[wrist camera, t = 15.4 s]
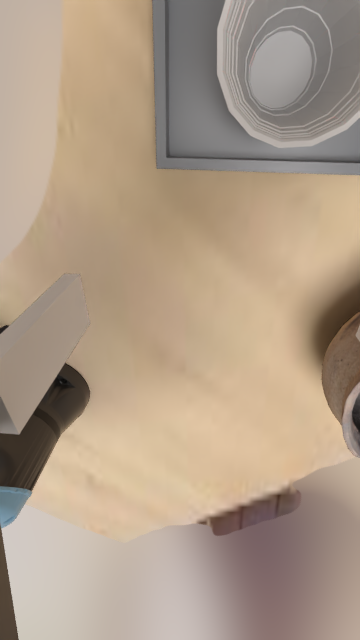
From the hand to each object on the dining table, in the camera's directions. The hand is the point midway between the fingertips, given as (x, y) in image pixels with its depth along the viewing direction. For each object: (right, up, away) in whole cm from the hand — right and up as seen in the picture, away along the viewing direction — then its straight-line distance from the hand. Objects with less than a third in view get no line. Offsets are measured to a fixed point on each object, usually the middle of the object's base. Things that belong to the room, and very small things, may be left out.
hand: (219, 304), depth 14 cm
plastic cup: (+7, +22, +13) cm, 26 cm away
